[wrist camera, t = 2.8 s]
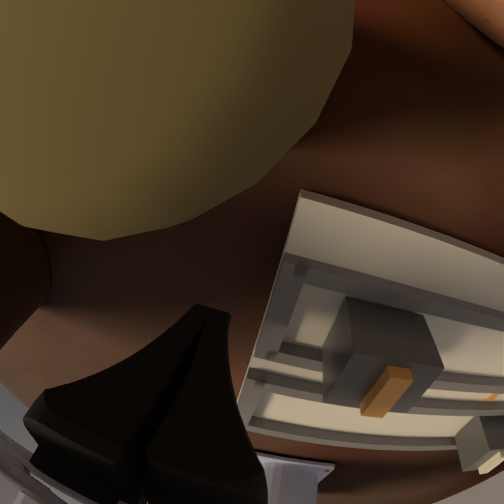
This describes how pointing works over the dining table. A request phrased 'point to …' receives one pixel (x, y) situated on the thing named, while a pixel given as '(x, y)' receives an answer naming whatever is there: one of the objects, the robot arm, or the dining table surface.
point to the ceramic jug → (483, 16)
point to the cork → (155, 104)
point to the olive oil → (20, 275)
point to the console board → (383, 293)
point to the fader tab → (378, 359)
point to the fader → (481, 443)
